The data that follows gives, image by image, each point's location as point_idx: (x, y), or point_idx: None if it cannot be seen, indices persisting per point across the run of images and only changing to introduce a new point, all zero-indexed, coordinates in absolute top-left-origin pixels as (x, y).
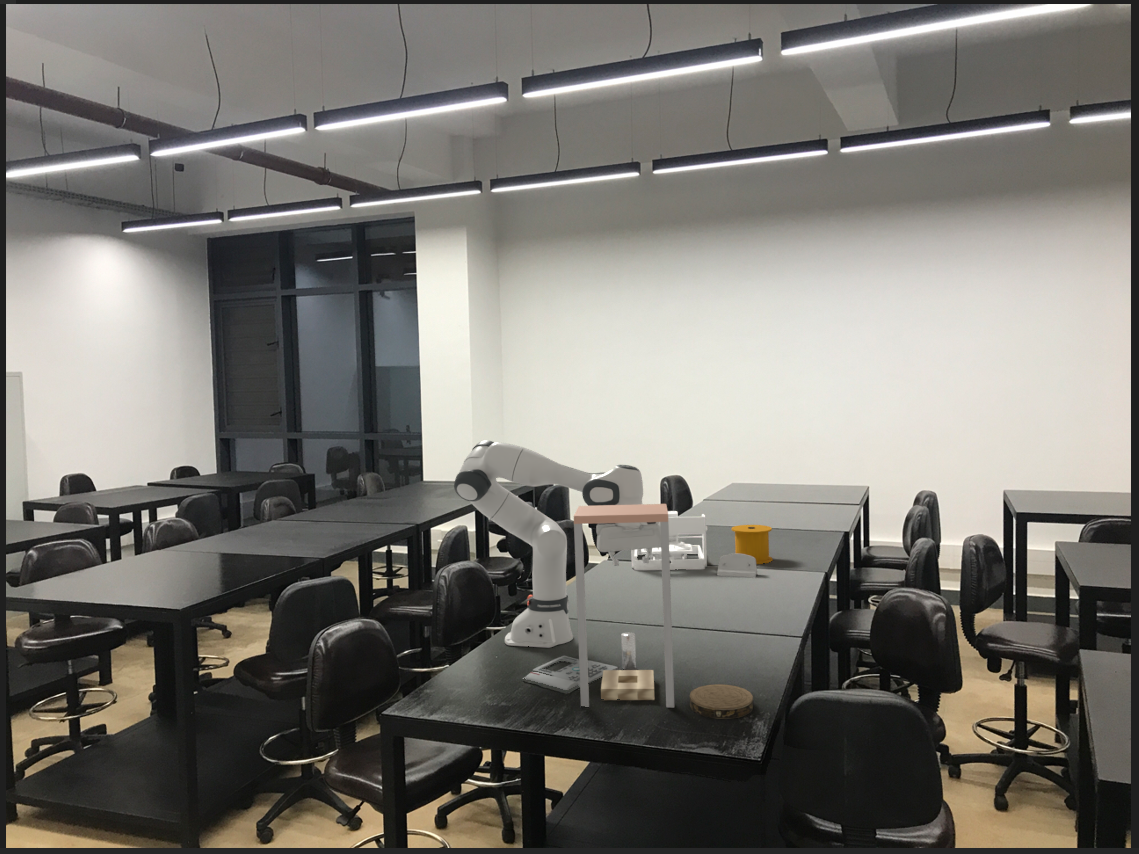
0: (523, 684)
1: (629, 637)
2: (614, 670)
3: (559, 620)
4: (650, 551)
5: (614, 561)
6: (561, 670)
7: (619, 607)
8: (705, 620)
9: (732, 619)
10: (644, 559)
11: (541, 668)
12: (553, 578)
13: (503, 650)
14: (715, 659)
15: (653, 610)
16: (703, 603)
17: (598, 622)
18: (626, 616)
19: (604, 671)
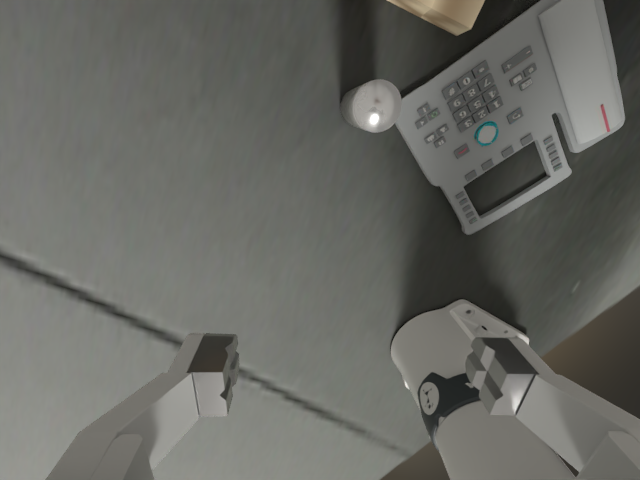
0: (631, 96)
1: (382, 79)
2: (444, 11)
3: (452, 352)
4: (100, 439)
5: (543, 365)
6: (522, 139)
7: (247, 454)
8: (86, 351)
9: (18, 340)
10: (224, 358)
11: (550, 174)
12: (539, 468)
13: (545, 314)
14: (111, 81)
15: None
16: (72, 437)
17: (312, 398)
18: (249, 412)
19: (473, 15)
